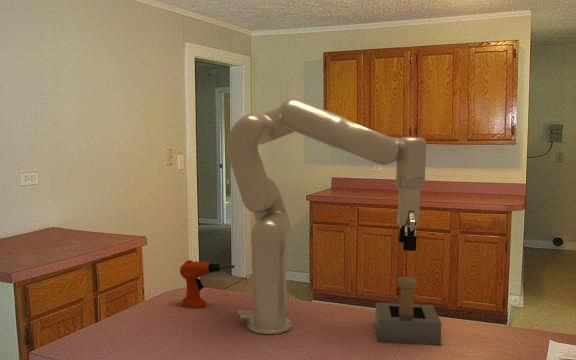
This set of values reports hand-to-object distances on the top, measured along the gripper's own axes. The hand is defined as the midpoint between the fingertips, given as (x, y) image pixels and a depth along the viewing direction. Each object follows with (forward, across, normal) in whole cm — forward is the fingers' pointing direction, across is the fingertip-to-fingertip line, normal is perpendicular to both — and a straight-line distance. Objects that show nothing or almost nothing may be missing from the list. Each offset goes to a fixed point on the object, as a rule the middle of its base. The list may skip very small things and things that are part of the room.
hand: (407, 246), depth 137 cm
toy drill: (+25, -14, -59) cm, 66 cm away
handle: (+24, 0, +1) cm, 25 cm away
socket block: (+24, 0, +1) cm, 24 cm away
